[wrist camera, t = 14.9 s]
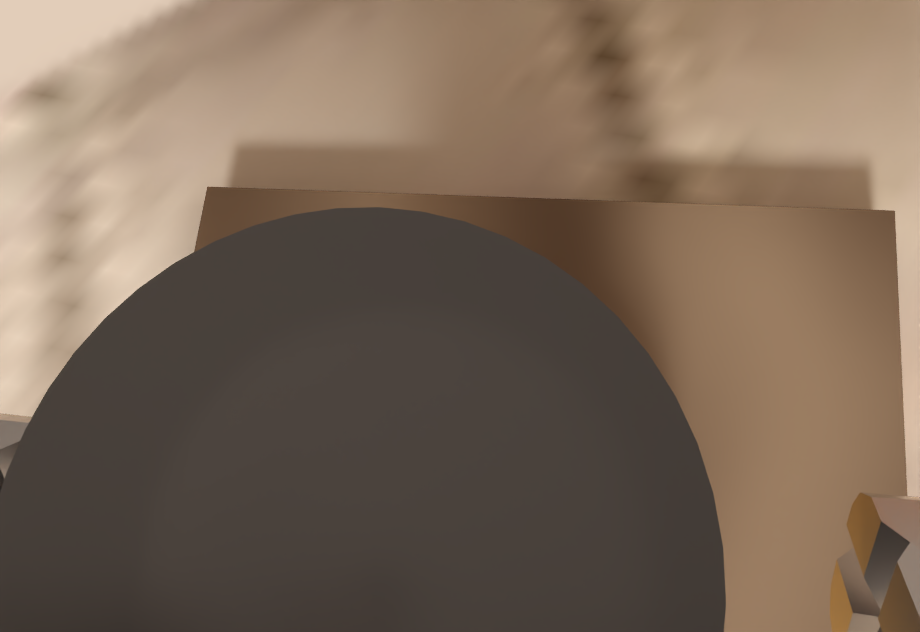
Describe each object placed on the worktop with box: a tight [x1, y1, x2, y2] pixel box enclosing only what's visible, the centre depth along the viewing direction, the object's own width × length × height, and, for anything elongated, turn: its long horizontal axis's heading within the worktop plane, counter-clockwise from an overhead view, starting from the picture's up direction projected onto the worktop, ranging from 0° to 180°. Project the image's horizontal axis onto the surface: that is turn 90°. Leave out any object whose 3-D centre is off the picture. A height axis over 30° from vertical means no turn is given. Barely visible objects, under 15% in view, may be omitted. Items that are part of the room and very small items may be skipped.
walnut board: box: [194, 187, 907, 632], centre depth 15 cm, size 14×14×1 cm
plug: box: [0, 207, 726, 632], centre depth 10 cm, size 6×6×10 cm
